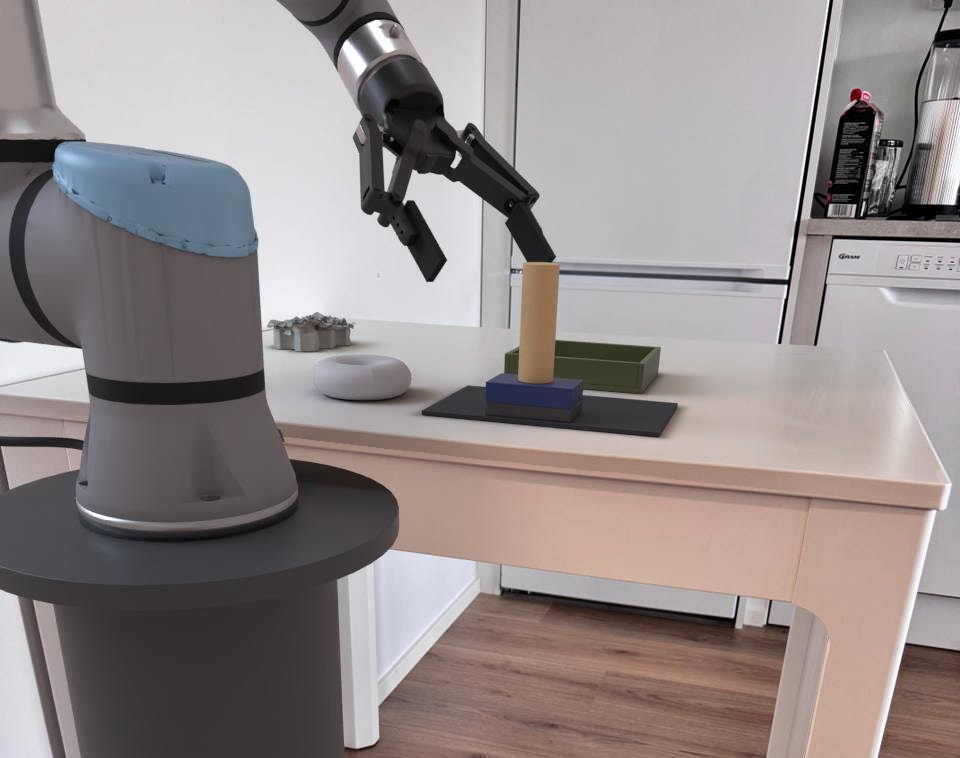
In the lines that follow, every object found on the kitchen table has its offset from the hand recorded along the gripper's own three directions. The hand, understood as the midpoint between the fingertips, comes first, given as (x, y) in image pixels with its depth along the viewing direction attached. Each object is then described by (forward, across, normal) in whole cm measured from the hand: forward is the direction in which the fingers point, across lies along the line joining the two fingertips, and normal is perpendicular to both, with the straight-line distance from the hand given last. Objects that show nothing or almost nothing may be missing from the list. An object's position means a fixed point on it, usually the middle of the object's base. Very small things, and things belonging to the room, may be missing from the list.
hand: (494, 269), depth 87 cm
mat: (+12, +4, +5) cm, 14 cm away
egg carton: (-21, +7, +39) cm, 45 cm away
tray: (+5, +20, +13) cm, 24 cm away
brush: (+13, 0, +4) cm, 14 cm away
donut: (0, -6, +18) cm, 19 cm away
